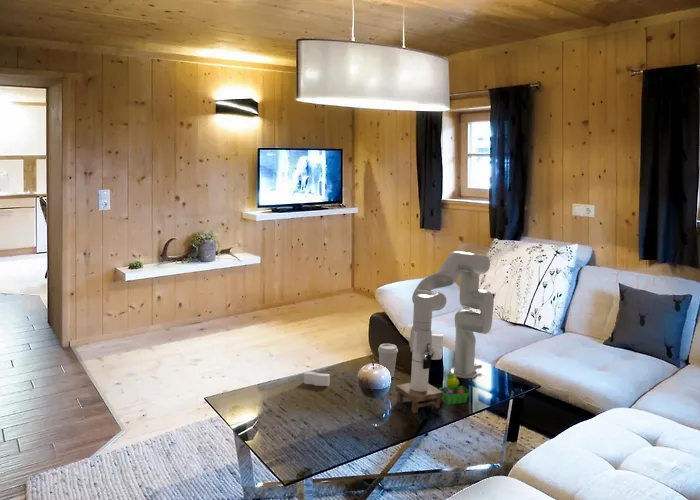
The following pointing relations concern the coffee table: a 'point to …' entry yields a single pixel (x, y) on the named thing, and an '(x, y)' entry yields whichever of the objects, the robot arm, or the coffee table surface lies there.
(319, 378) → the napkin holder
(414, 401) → the stool
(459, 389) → the fruit basket
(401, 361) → the coffee table surface
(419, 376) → the cylindrical container
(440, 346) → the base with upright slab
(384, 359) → the coffee cup
